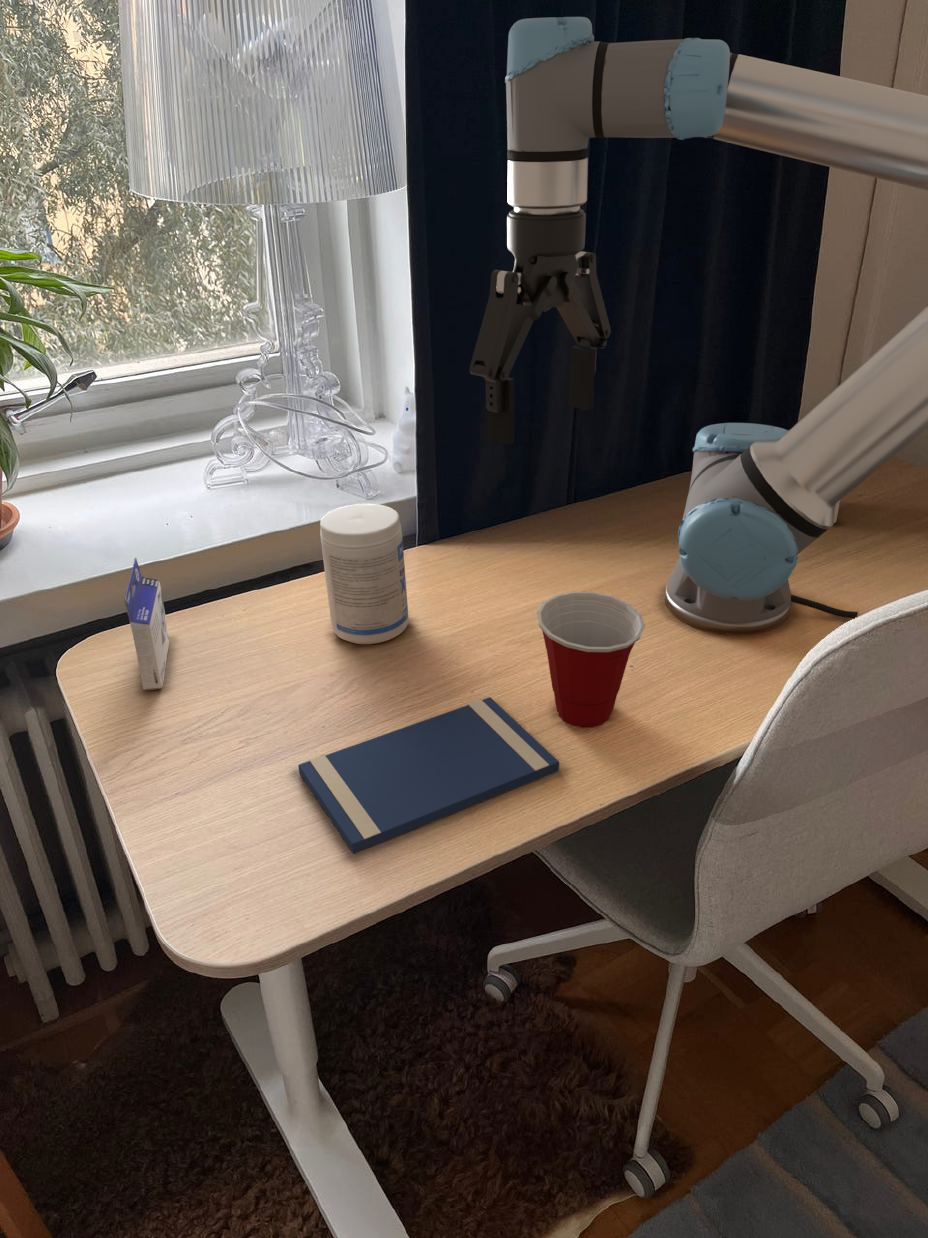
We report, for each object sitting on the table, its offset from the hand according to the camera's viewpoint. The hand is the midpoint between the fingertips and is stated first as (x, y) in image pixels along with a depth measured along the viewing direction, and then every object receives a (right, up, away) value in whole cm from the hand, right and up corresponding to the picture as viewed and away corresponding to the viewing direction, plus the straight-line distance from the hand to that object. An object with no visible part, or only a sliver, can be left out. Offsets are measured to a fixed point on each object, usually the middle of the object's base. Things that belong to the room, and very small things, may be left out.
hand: (543, 423), depth 103 cm
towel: (-12, -36, -8) cm, 39 cm away
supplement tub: (-20, -22, +17) cm, 34 cm away
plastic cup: (+5, -31, 0) cm, 31 cm away
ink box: (-44, -26, +11) cm, 53 cm away
